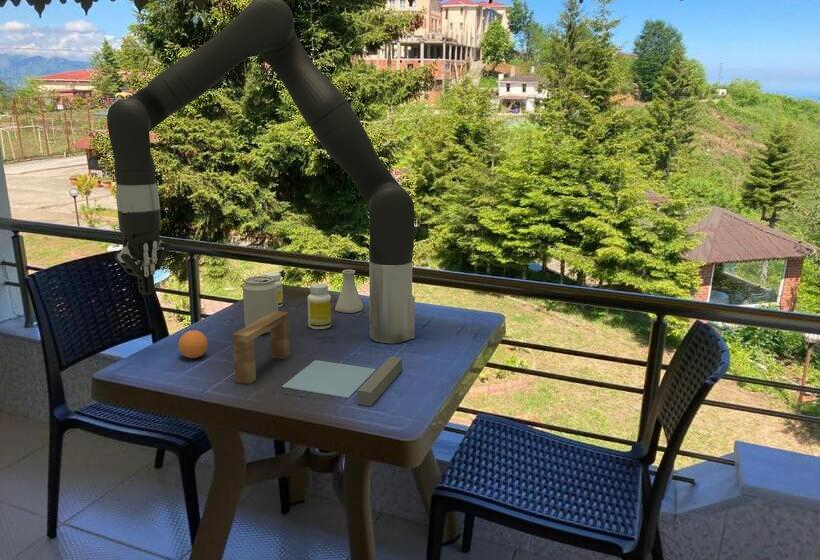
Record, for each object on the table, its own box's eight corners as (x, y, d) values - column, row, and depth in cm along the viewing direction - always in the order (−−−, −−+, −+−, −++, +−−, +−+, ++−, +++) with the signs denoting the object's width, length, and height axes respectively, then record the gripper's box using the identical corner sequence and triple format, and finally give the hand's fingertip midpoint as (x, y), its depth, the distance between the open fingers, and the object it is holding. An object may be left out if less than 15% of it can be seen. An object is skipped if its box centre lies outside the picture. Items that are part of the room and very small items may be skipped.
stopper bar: (357, 404, 102) (357, 390, 102) (390, 368, 117) (390, 356, 116) (370, 406, 102) (370, 392, 101) (402, 370, 116) (402, 358, 116)
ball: (209, 350, 125) (207, 325, 123) (208, 360, 120) (206, 334, 118) (180, 353, 123) (178, 327, 122) (178, 363, 118) (176, 337, 117)
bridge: (235, 381, 110) (232, 334, 108) (276, 353, 124) (274, 310, 121) (250, 384, 109) (247, 336, 107) (290, 355, 123) (288, 312, 120)
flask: (329, 311, 151) (328, 272, 148) (342, 303, 158) (342, 266, 155) (355, 315, 149) (355, 275, 146) (368, 307, 155) (367, 269, 153)
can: (270, 336, 133) (268, 283, 130) (239, 333, 135) (235, 281, 132) (284, 325, 141) (282, 275, 137) (254, 323, 142) (251, 273, 139)
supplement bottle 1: (261, 304, 156) (259, 273, 154) (278, 301, 159) (276, 270, 157) (269, 309, 152) (267, 276, 150) (286, 306, 155) (285, 274, 153)
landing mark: (281, 387, 108) (281, 386, 108) (315, 360, 120) (315, 360, 120) (348, 398, 104) (348, 397, 104) (376, 370, 116) (376, 369, 116)
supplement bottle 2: (335, 327, 140) (335, 286, 137) (314, 331, 137) (313, 289, 134) (325, 320, 144) (324, 281, 142) (304, 324, 141) (302, 284, 139)
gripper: (147, 202, 124) (154, 283, 128) (96, 210, 112) (106, 300, 116) (177, 204, 122) (184, 287, 126) (129, 213, 110) (138, 305, 114)
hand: (147, 293), depth 121 cm, fingers closed
